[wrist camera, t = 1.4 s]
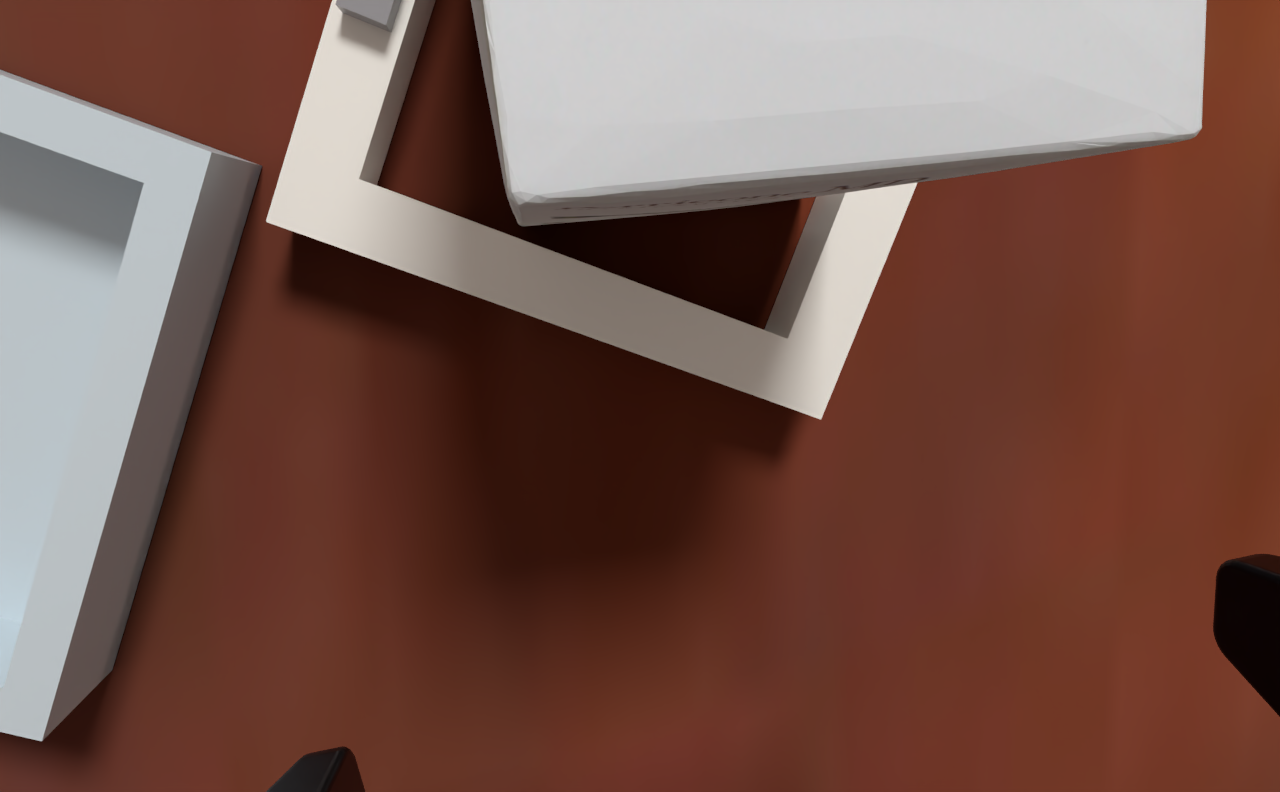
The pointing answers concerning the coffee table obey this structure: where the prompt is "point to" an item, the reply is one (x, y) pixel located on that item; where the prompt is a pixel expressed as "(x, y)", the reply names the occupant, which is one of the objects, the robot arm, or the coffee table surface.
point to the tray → (94, 371)
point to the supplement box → (818, 95)
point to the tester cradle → (546, 280)
